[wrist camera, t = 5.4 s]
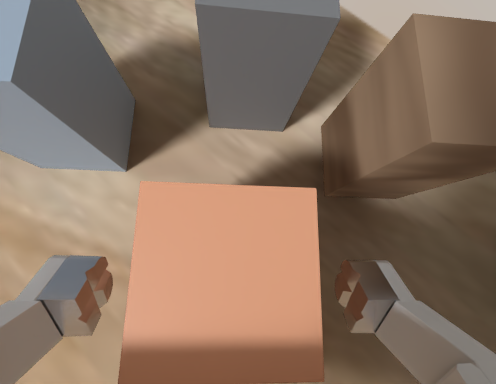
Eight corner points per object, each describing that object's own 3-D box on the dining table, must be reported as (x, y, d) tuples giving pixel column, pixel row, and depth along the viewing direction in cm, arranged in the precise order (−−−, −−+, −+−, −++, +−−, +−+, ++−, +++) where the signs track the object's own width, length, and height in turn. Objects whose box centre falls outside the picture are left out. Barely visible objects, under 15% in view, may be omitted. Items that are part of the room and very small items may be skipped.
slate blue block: (41, 167, 14) (-191, 67, 6) (56, 94, 15) (-128, -73, 7) (126, 171, 14) (10, 81, 7) (135, 99, 15) (43, -54, 7)
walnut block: (324, 196, 15) (432, 142, 7) (321, 126, 16) (413, 13, 8) (395, 198, 16) (569, 150, 8) (388, 130, 16) (536, 26, 9)
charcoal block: (209, 127, 15) (194, 3, 8) (212, 62, 16) (203, -106, 9) (282, 131, 16) (340, 18, 8) (281, 68, 17) (332, -88, 9)
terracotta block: (180, 304, 13) (117, 387, 5) (186, 217, 14) (140, 181, 6) (266, 304, 14) (324, 381, 6) (266, 219, 14) (316, 188, 7)
